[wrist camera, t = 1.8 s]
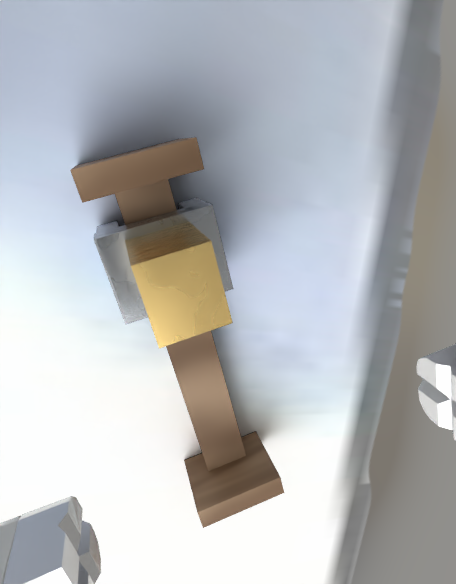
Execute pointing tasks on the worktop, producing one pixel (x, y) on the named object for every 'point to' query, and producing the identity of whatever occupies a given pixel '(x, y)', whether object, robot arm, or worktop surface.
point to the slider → (169, 271)
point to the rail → (189, 340)
